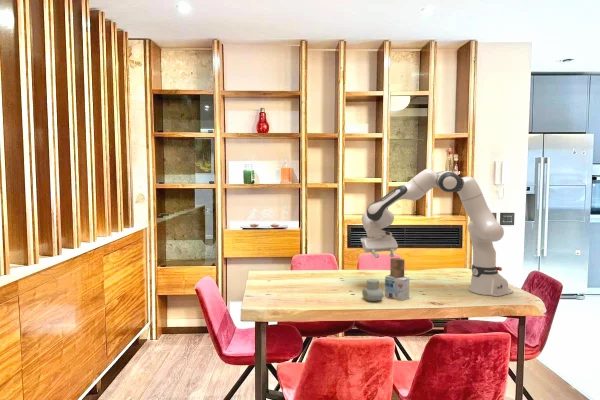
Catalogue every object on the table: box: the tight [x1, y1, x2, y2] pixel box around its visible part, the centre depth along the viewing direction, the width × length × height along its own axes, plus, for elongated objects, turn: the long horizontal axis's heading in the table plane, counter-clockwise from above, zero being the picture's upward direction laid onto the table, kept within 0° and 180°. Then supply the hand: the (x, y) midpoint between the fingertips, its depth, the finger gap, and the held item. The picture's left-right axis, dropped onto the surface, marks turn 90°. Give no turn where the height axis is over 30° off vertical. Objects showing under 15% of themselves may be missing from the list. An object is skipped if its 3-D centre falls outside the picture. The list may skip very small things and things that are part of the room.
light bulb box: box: [384, 274, 410, 301], centre depth 192 cm, size 11×7×11 cm, turn 47°
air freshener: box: [361, 278, 385, 302], centre depth 187 cm, size 11×8×10 cm
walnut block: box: [389, 257, 405, 278], centre depth 191 cm, size 5×5×9 cm
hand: (385, 257), depth 202 cm, fingers open, 8 cm apart
